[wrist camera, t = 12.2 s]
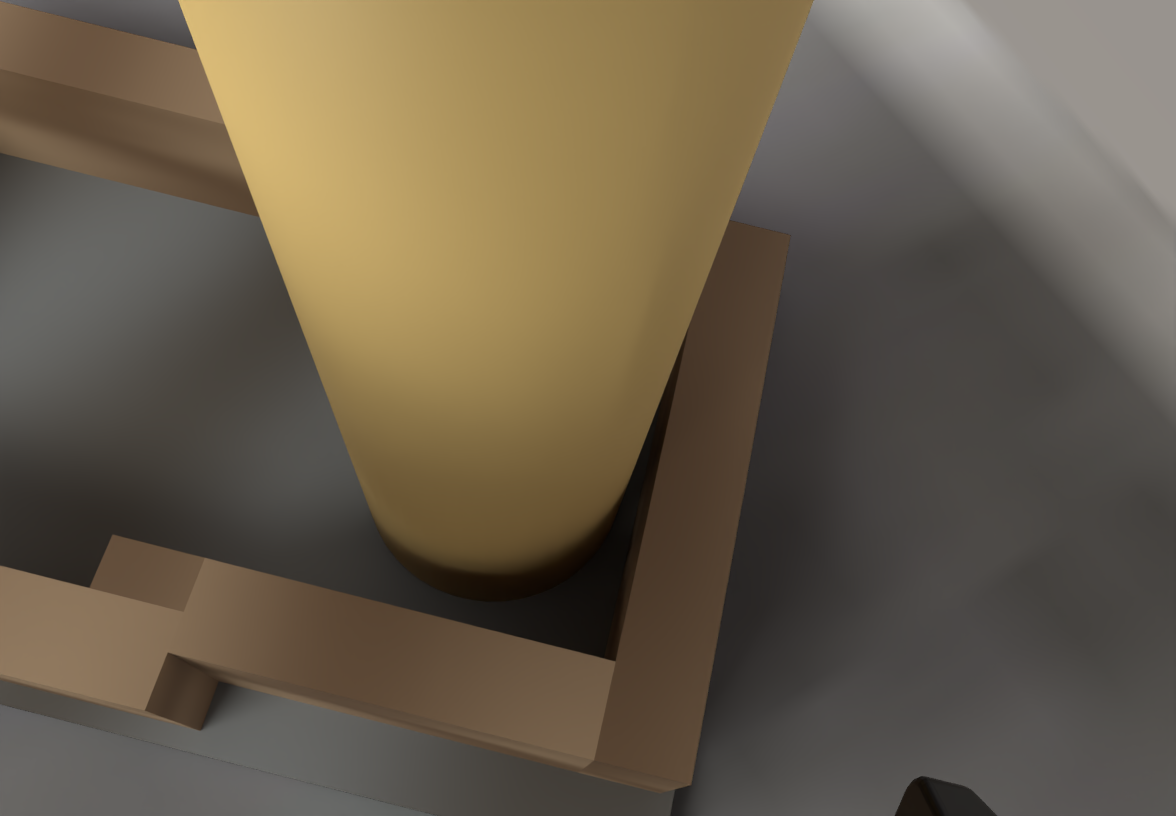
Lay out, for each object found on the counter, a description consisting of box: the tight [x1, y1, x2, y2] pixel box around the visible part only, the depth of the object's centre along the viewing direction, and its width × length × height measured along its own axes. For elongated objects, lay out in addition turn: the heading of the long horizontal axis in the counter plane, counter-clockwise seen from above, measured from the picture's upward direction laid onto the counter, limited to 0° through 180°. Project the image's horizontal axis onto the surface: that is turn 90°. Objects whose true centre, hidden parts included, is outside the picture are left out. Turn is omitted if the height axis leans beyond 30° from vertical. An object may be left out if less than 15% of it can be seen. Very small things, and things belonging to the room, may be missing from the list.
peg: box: [178, 0, 814, 602], centre depth 10 cm, size 4×4×13 cm
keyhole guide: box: [0, 1, 791, 816], centre depth 15 cm, size 16×10×3 cm, turn 77°
